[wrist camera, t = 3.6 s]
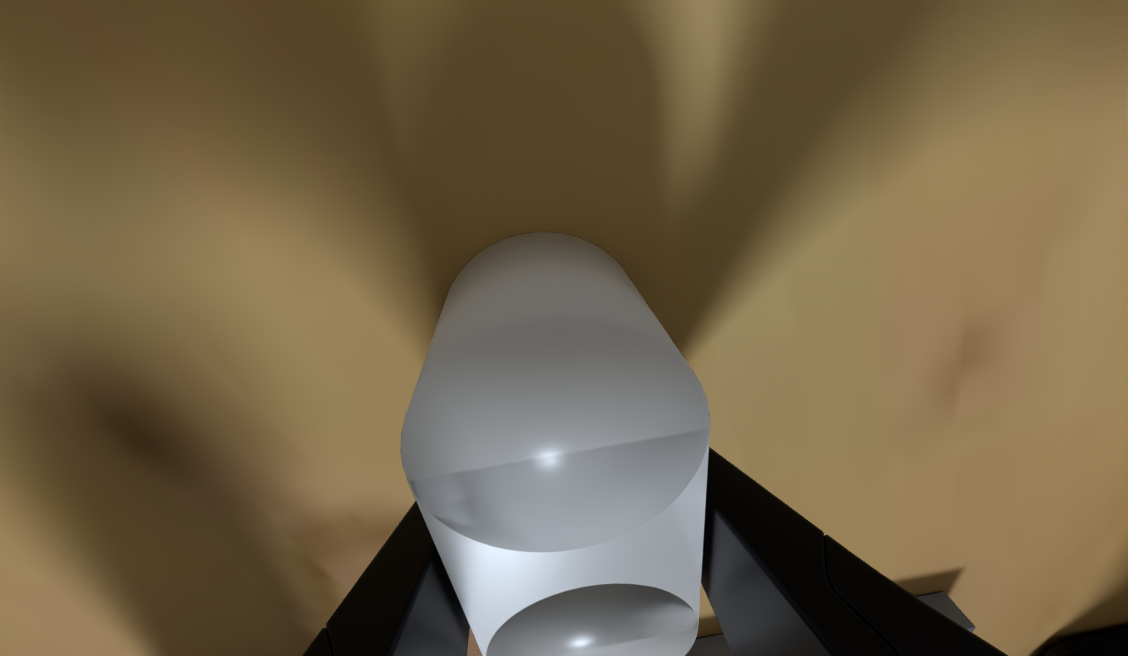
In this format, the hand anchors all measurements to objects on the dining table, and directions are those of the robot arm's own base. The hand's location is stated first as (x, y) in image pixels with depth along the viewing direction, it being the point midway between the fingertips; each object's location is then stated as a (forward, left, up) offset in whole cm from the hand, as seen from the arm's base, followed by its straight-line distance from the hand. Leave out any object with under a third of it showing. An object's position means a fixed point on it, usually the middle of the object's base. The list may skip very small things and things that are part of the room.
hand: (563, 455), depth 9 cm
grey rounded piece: (0, +1, -1) cm, 2 cm away
